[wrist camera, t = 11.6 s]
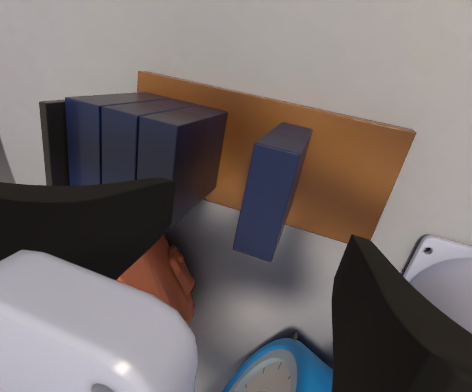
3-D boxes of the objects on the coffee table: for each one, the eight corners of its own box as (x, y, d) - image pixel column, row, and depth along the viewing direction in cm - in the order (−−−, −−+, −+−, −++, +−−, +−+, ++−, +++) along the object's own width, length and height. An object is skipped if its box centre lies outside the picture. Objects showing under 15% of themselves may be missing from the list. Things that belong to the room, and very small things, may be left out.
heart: (45, 209, 20) (35, 339, 27) (204, 287, 20) (153, 400, 27) (101, 178, 26) (81, 294, 33) (228, 239, 25) (180, 344, 32)
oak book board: (365, 242, 21) (382, 343, 13) (140, 174, 25) (46, 220, 17) (413, 129, 18) (475, 170, 10) (145, 71, 21) (31, 66, 13)
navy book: (291, 207, 21) (270, 263, 14) (263, 199, 21) (231, 250, 15) (313, 129, 18) (301, 154, 12) (281, 121, 19) (254, 142, 13)
